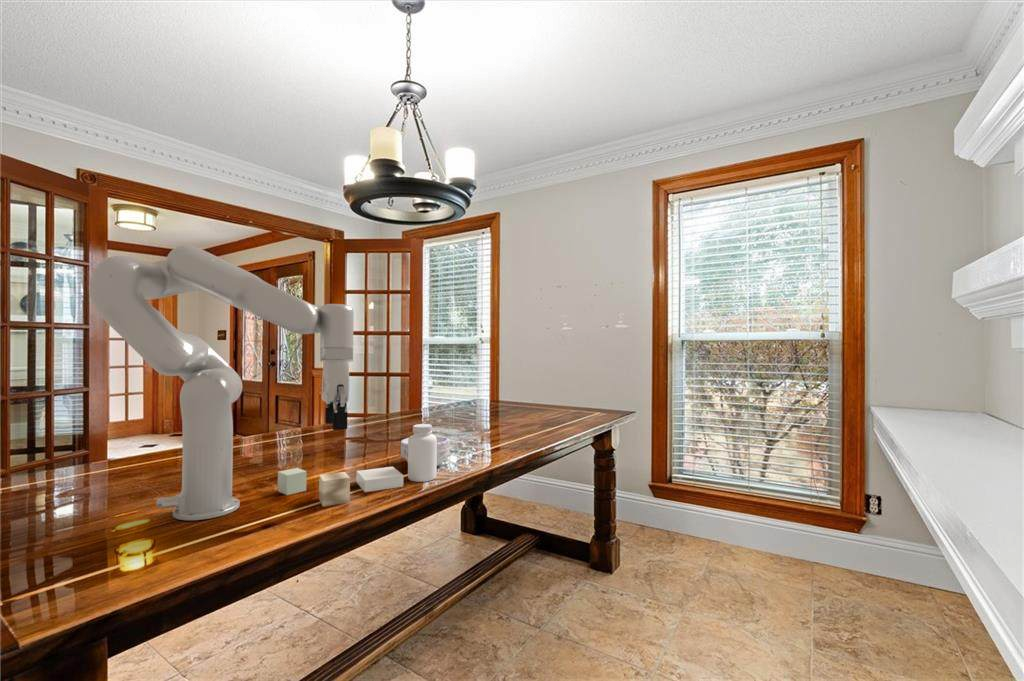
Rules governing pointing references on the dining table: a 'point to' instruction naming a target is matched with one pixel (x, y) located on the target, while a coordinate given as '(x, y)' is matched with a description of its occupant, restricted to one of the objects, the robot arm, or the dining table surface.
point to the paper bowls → (442, 448)
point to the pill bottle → (422, 454)
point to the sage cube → (292, 481)
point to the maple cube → (334, 488)
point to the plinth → (379, 479)
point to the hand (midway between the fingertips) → (335, 426)
